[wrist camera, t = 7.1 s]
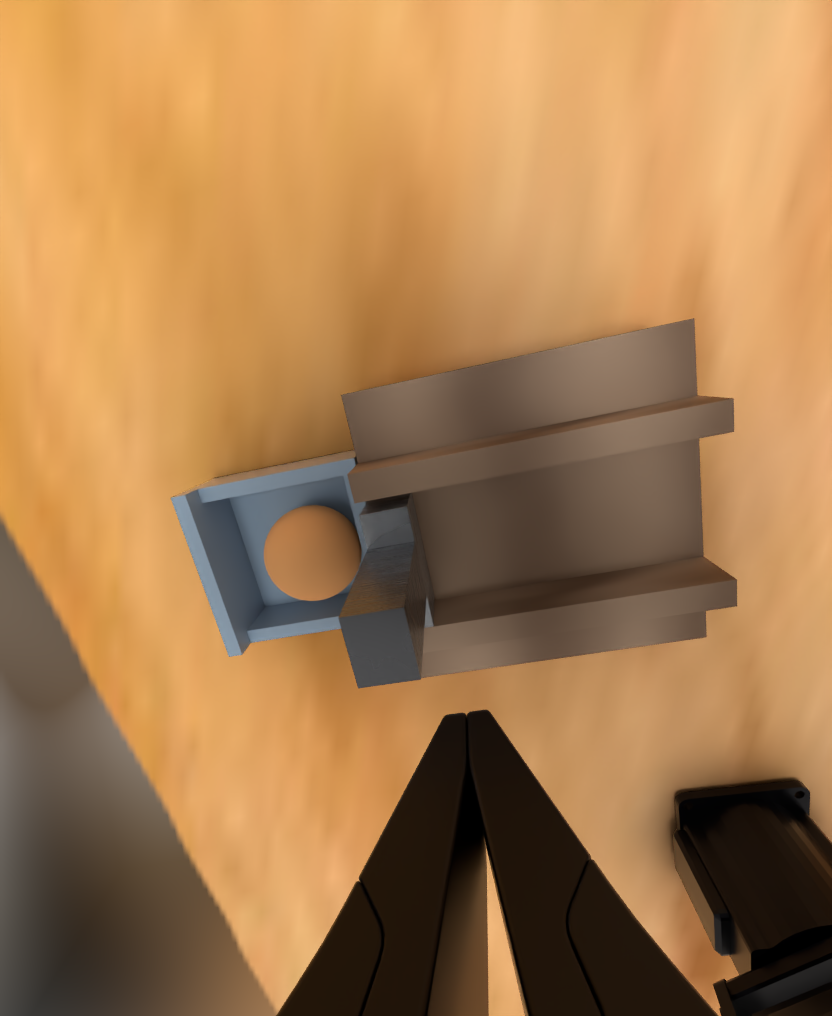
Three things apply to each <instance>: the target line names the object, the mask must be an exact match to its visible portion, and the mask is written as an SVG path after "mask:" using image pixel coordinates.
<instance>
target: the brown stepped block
mask: <svg viewBox="0 0 832 1016" xmlns="http://www.w3.org/2000/svg"><path fill="white" fill-rule="evenodd" d="M341 396H342V400H343V404H344V408H345V413H346V417H347V421H348V425H349V429H350V433H351V437H352V441H353V445H354V449H355V453H356V457H357V461H358V464H357V465H356V466H355V467H354V468H353V469H352V470H351V471H350V472H349V473H348V474H347V476H348V480H349V484H350V488H351V492H352V496H353V500H354V503H360V502H365V501H370V500H375V499H381V498H386V497H391V496H397V495H402V494H407V493H412V495H413V500H414V504H415V509H416V514H417V518H418V523H419V527H420V532H421V537H422V541H423V546H424V550H425V555H426V560H427V564H428V569H429V573H430V578H431V583H432V587H433V592H434V596H435V598H434V626H433V627H427V628H424V642H423V657H422V672H421V678H424V677H431V676H438V675H445V674H452V673H459V672H466V671H473V670H480V669H487V668H494V667H501V666H508V665H515V664H522V663H529V662H536V661H543V660H550V659H557V658H564V657H571V656H578V655H585V654H592V653H599V652H606V651H613V650H620V649H627V648H634V647H641V646H648V645H655V644H662V643H669V642H676V641H683V640H690V639H697V638H704V637H706V611H708V610H714V609H721V608H728V607H734V606H737V579H735V578H734V577H732V576H731V575H729V574H728V573H726V572H725V571H724V570H722V569H721V568H719V567H718V566H716V565H715V564H713V563H712V562H711V561H709V560H708V559H706V558H705V557H703V532H702V506H701V480H700V454H699V438H703V437H709V436H714V435H719V434H724V433H730V432H734V399H732V398H720V397H708V396H697V376H696V350H695V324H694V319H689V320H684V321H680V322H675V323H670V324H666V325H661V326H657V327H652V328H647V329H643V330H638V331H634V332H629V333H624V334H620V335H615V336H611V337H606V338H601V339H597V340H592V341H588V342H583V343H578V344H574V345H569V346H564V347H560V348H555V349H551V350H546V351H541V352H537V353H532V354H528V355H523V356H518V357H514V358H509V359H505V360H500V361H495V362H491V363H486V364H482V365H477V366H472V367H468V368H463V369H459V370H454V371H449V372H445V373H440V374H435V375H431V376H426V377H422V378H417V379H412V380H408V381H403V382H399V383H394V384H389V385H385V386H380V387H376V388H371V389H366V390H362V391H357V392H353V393H348V394H343V395H341Z"/></svg>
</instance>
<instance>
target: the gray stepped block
mask: <svg viewBox="0 0 832 1016" xmlns="http://www.w3.org/2000/svg"><path fill="white" fill-rule="evenodd" d="M359 518H360V522H361V526H362V530H363V534H364V538H365V542H366V546H367V552H366V554H365V556H364V559H363V561H362V563H361V566H360V568H359V570H358V573H357V575H356V577H355V580H354V582H353V584H352V587H351V589H350V591H349V594H348V596H347V599H346V601H345V603H344V606H343V608H342V610H341V613H340V615H339V617H338V619H339V622H340V626H341V629H342V633H343V636H344V640H345V644H346V647H347V651H348V654H349V658H350V661H351V665H352V668H353V672H354V675H355V679H356V682H357V686H358V688H364V687H371V686H378V685H385V684H392V683H399V682H406V681H413V680H420V679H421V672H422V657H423V642H424V628H427V627H433V626H434V598H435V596H434V592H433V587H432V583H431V578H430V573H429V569H428V564H427V560H426V555H425V550H424V546H423V541H422V537H421V532H420V527H419V523H418V518H417V514H416V509H415V504H414V500H413V495H412V493H407V494H402V495H397V496H391V497H386V498H381V499H375V500H370V501H367V502H366V504H365V506H364V507H363V509H362V511H361V513H360V514H359Z"/></svg>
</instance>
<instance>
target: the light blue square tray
mask: <svg viewBox="0 0 832 1016" xmlns="http://www.w3.org/2000/svg"><path fill="white" fill-rule="evenodd" d="M357 464H358V461H357V457H356V453H355V450H350V451H345V452H340V453H335V454H331V455H326V456H321V457H316V458H311V459H306V460H301V461H296V462H291V463H286V464H281V465H276V466H271V467H266V468H261V469H256V470H252V471H247V472H242V473H237V474H232V475H227V476H222V477H217V478H213V479H211V480H209V481H207V482H204V483H202V484H200V485H198V486H196V487H193V488H191V489H189V490H187V491H185V492H182V493H180V494H178V495H176V496H174V497H171V500H172V503H173V505H174V508H175V511H176V514H177V516H178V519H179V522H180V524H181V527H182V530H183V533H184V535H185V538H186V541H187V544H188V546H189V549H190V552H191V554H192V557H193V560H194V563H195V565H196V568H197V571H198V573H199V576H200V579H201V582H202V584H203V587H204V590H205V593H206V595H207V598H208V601H209V603H210V606H211V609H212V612H213V614H214V617H215V620H216V622H217V625H218V628H219V631H220V633H221V636H222V639H223V642H224V644H225V647H226V650H227V652H228V655H229V657H231V656H237V655H242V654H243V653H244V651H245V650H246V649H247V647H248V646H249V644H250V643H253V642H259V641H265V640H271V639H278V638H284V637H290V636H297V635H303V634H309V633H316V632H322V631H328V630H335V629H341V626H340V622H339V619H338V617H339V615H340V613H341V610H342V608H343V606H344V603H345V601H346V599H347V596H348V594H349V591H350V589H351V587H352V584H353V582H354V580H355V577H356V575H357V573H358V571H357V573H356V575H355V577H354V579H353V580H352V581H351V583H350V584H349V585H348V586H347V587H346V588H345V589H344V590H342V591H341V592H340V593H338V594H336V595H334V596H332V597H330V598H327V599H324V600H318V601H306V600H300V599H296V598H294V597H291V596H289V595H287V594H286V593H284V592H283V591H281V590H280V589H279V588H278V587H277V586H276V585H275V584H274V583H273V581H272V580H271V578H270V576H269V575H268V572H267V570H266V567H265V563H264V546H265V541H266V538H267V535H268V533H269V531H270V530H271V528H272V526H273V525H274V524H275V523H276V522H277V520H278V519H279V518H281V517H282V516H283V515H284V514H286V513H287V512H289V511H291V510H293V509H296V508H299V507H302V506H307V505H320V506H326V507H329V508H332V509H334V510H336V511H338V512H340V513H341V514H343V515H344V516H345V517H346V518H347V519H348V520H349V521H350V522H351V523H352V524H353V526H354V527H355V529H356V531H357V533H358V536H359V540H360V544H361V549H362V555H361V562H360V566H361V563H362V561H363V559H364V556H365V554H366V552H367V546H366V542H365V538H364V534H363V530H362V526H361V522H360V518H359V514H360V513H361V511H362V509H363V507H364V506H365V504H366V502H367V501H365V502H360V503H354V500H353V496H352V492H351V488H350V484H349V480H348V476H347V474H348V473H349V472H350V471H351V470H352V469H353V468H354V467H355V466H356V465H357ZM360 566H359V568H360ZM358 570H359V569H358Z"/></svg>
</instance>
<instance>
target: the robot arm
mask: <svg viewBox="0 0 832 1016" xmlns="http://www.w3.org/2000/svg"><path fill="white" fill-rule="evenodd" d="M809 807H810V792H809V790H808V789H807V788H806V787H805V786H804V784H803V783H802V782H800V781H785V782H776V783H767V784H758V785H748V786H739V787H730V788H720V789H711V790H702V791H693V792H684V793H680V794H679V795H677V796H676V798H675V810H676V825H677V830H675V831H674V834H673V844H674V858H675V867H676V870H677V872H678V874H679V876H680V878H681V880H682V882H683V884H684V886H685V889H686V891H687V893H688V895H689V897H690V899H691V901H692V903H693V905H694V908H695V910H696V912H697V914H698V916H699V918H700V920H701V922H702V924H703V927H704V929H705V931H706V933H707V935H708V937H709V939H710V941H711V943H712V946H713V948H714V950H715V951H717V952H718V953H719V954H720V955H721V956H725V955H730V957H731V959H732V961H733V963H734V965H735V967H736V969H737V971H738V973H739V976H737V977H735V978H732V979H730V980H728V981H726V980H725V979H722V980H720V981H718V982H716V983H713V986H714V989H715V992H716V995H717V998H718V1001H719V1004H720V1007H721V1008H719V1009H720V1013H721V1016H832V843H831V841H830V840H829V839H828V838H827V837H826V835H825V834H824V833H823V832H822V831H821V829H820V828H819V827H818V826H817V825H816V823H815V822H814V821H813V820H812V819H811V817H810V816H809ZM485 842H486V843H485ZM486 847H487V852H488V856H489V861H490V865H491V870H492V874H493V878H494V883H495V887H496V891H497V896H498V900H499V904H500V909H501V913H502V918H503V922H504V926H505V931H506V935H507V939H508V944H509V948H510V952H511V957H512V961H513V966H514V970H515V974H516V979H517V983H518V987H519V992H520V996H521V1000H522V1005H523V1009H524V1013H525V1016H718V1015H717V1014H716V1012H715V1011H714V1010H713V1009H712V1008H711V1007H710V1006H709V1004H708V1003H707V1002H706V1001H705V1000H704V999H703V997H702V996H701V995H700V994H699V993H698V992H697V990H696V989H695V988H694V987H693V986H692V985H691V984H690V982H689V981H688V980H687V979H686V978H685V977H684V975H683V974H682V973H681V972H680V971H679V970H678V968H677V967H676V966H675V965H674V964H673V963H672V962H671V960H670V959H669V958H668V957H667V955H666V954H665V953H664V952H663V951H662V949H661V948H660V947H659V946H658V945H657V943H656V942H655V941H654V940H653V938H652V937H651V936H650V935H649V934H648V932H647V931H646V930H645V929H644V928H643V926H642V925H641V924H640V923H639V921H638V920H637V919H636V918H635V916H634V915H633V914H632V912H631V911H630V909H629V908H628V907H627V905H626V904H625V903H624V901H623V900H622V899H621V897H620V896H619V895H618V893H617V892H616V891H615V889H614V888H613V887H612V885H611V884H610V882H609V881H608V880H607V878H606V877H605V875H604V874H603V873H602V871H601V870H600V868H599V867H598V865H597V864H596V863H595V861H594V860H591V856H590V854H589V853H588V852H587V850H586V849H585V847H584V846H583V844H582V843H581V841H580V840H579V839H578V837H577V836H576V834H575V833H574V831H573V830H572V829H571V827H570V826H569V824H568V823H567V821H566V820H565V819H564V817H563V816H562V814H561V813H560V811H559V810H558V809H557V807H556V806H555V804H554V803H553V801H552V800H551V799H550V797H549V796H548V794H547V793H546V791H545V790H544V789H543V787H542V786H541V784H540V783H539V781H538V780H537V779H536V777H535V776H534V774H533V773H532V771H531V770H530V769H529V767H528V766H527V764H526V763H525V761H524V760H523V759H522V757H521V756H520V754H519V753H518V751H517V750H516V749H515V747H514V746H513V744H512V743H511V741H510V740H509V739H508V737H507V736H506V734H505V733H504V731H503V730H502V728H501V727H500V726H499V724H498V723H497V721H496V720H495V718H494V717H493V716H492V714H491V713H490V712H489V711H488V710H479V711H472V712H469V713H468V714H467V715H466V714H465V713H457V714H449V715H446V716H444V718H443V719H442V721H441V723H440V725H439V727H438V729H437V731H436V732H435V734H434V736H433V738H432V740H431V742H430V744H429V746H428V748H427V749H426V751H425V753H424V755H423V757H422V759H421V761H420V763H419V765H418V766H417V768H416V770H415V772H414V774H413V776H412V778H411V780H410V782H409V783H408V785H407V787H406V789H405V791H404V793H403V795H402V797H401V799H400V800H399V802H398V804H397V806H396V808H395V810H394V812H393V814H392V816H391V817H390V819H389V821H388V823H387V825H386V827H385V829H384V831H383V833H382V834H381V836H380V838H379V840H378V842H377V844H376V846H375V848H374V850H373V851H372V853H371V855H370V857H369V859H368V861H367V863H366V865H365V866H364V868H363V870H362V872H361V874H360V876H359V881H360V882H359V881H357V882H356V883H355V885H354V887H353V889H352V890H351V892H350V894H349V896H348V898H347V900H346V902H345V904H344V906H343V907H342V909H341V911H340V913H339V915H338V916H337V918H336V920H335V922H334V923H333V925H332V927H331V929H330V931H329V932H328V934H327V936H326V938H325V939H324V941H323V943H322V945H321V946H320V948H319V949H318V951H317V953H316V954H315V956H314V957H313V959H312V961H311V962H310V964H309V965H308V967H307V969H306V970H305V972H304V973H303V975H302V977H301V978H300V980H299V981H298V983H297V985H296V986H295V988H294V989H293V991H292V992H291V994H290V995H289V997H288V998H287V1000H286V1001H285V1003H284V1005H283V1006H282V1008H281V1009H280V1011H279V1012H278V1014H277V1015H276V1016H489V1014H488V934H487V862H486Z"/></svg>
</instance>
